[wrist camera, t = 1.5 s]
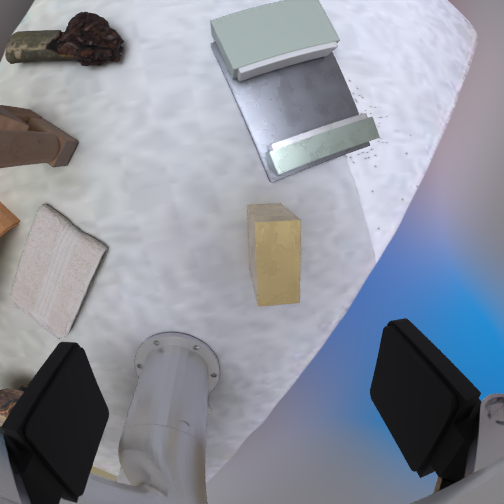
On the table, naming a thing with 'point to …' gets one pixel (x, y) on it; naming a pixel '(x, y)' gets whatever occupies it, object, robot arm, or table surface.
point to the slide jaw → (273, 37)
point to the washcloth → (56, 271)
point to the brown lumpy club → (68, 43)
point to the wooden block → (32, 139)
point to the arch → (6, 220)
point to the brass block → (274, 253)
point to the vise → (300, 115)
